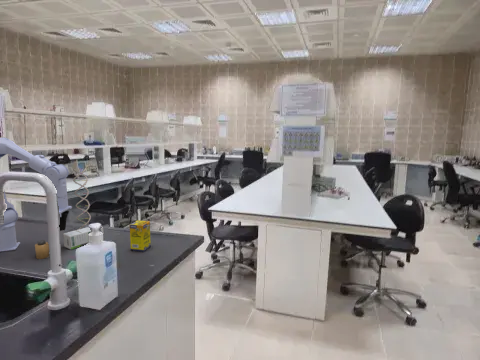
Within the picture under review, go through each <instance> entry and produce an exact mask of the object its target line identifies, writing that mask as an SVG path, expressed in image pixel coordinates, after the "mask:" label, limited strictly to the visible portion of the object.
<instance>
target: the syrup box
mask: <svg viewBox="0 0 480 360" xmlns="http://www.w3.org/2000/svg"><path fill="white" fill-rule="evenodd" d="M101 227H102V228H101V231H102V232H103V234H104V227H103V226H101ZM78 229H79V228H78ZM78 229H76V230H71V231H68V232H64V233H63V236H62V237H63V245H64V248H67V249H69V250H75V249H78V248H81V247H84V246H83V245H85V244H87V243H88V234H89V233H90V232H91V230H90V228H89V226H86V227H82V228H81V229H79V230H78ZM80 246H81V247H80ZM85 246H86V245H85Z"/></svg>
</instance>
